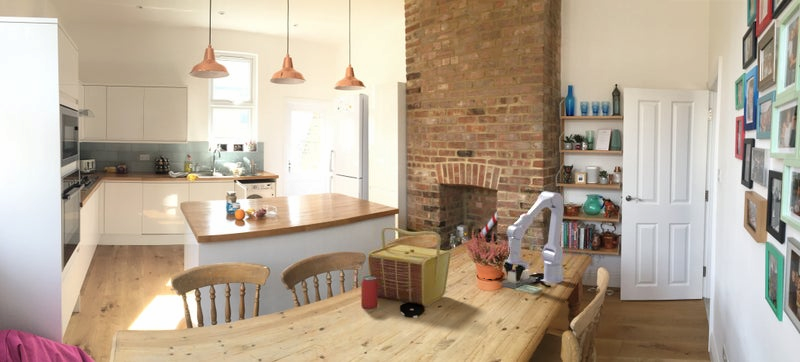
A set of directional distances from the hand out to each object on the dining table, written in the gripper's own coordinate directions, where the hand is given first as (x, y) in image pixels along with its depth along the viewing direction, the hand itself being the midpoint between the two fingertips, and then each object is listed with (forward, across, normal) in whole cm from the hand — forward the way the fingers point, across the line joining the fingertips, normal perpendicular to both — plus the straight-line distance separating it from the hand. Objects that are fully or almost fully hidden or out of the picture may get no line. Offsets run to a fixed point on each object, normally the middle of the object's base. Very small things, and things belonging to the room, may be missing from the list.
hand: (513, 279), depth 245 cm
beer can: (+3, -26, -68) cm, 73 cm away
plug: (+2, 0, 0) cm, 2 cm away
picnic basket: (+3, -24, -47) cm, 53 cm away
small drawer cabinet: (+3, 0, +4) cm, 6 cm away
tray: (+3, +8, -1) cm, 9 cm away
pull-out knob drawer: (+3, 0, +9) cm, 10 cm away
